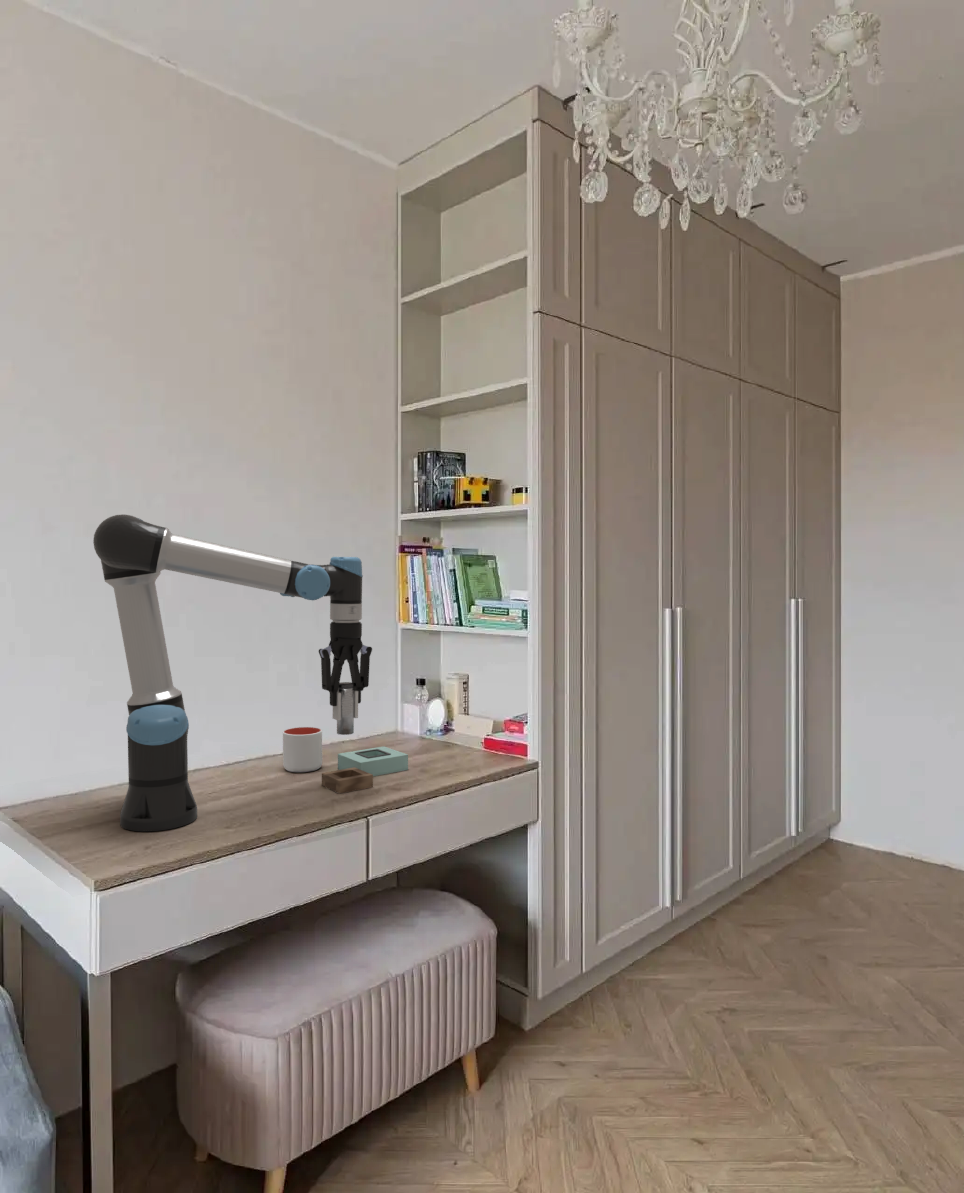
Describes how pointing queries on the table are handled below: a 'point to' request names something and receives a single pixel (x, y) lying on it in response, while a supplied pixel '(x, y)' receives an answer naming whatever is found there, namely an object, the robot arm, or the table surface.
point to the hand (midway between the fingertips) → (345, 718)
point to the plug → (346, 709)
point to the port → (374, 760)
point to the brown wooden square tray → (347, 780)
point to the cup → (302, 749)
